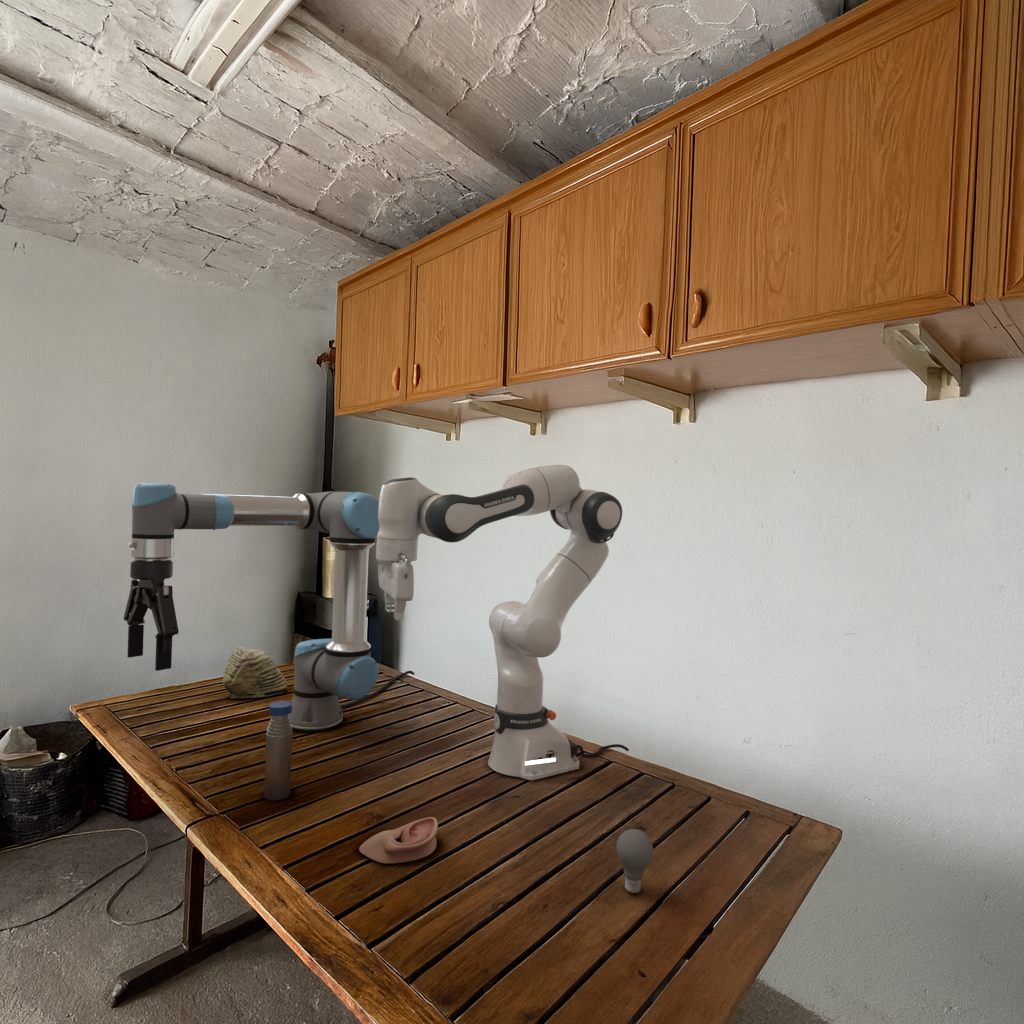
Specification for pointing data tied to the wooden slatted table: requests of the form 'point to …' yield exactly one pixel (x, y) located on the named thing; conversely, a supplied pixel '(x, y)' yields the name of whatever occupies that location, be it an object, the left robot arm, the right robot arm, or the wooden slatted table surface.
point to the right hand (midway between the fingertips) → (394, 615)
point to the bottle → (278, 758)
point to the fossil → (252, 674)
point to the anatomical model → (403, 842)
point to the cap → (280, 708)
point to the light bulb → (634, 857)
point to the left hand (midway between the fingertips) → (148, 662)
